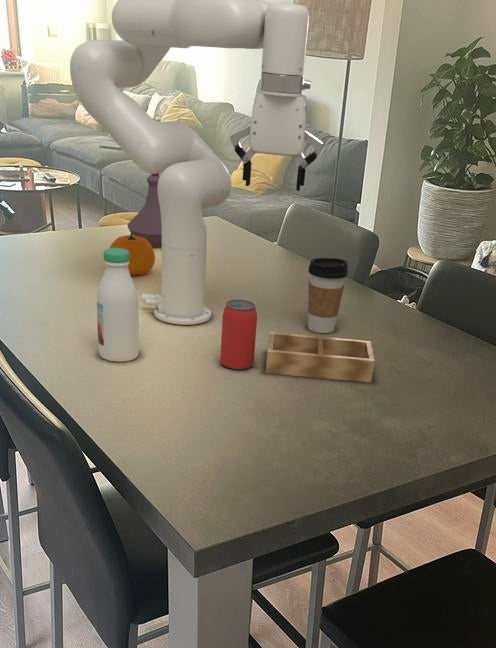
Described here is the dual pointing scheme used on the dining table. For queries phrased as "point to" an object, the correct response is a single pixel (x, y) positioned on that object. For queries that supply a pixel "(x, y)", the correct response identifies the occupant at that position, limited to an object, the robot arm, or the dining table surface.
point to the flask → (149, 216)
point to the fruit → (136, 253)
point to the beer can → (238, 334)
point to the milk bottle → (117, 309)
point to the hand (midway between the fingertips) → (272, 187)
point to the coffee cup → (325, 292)
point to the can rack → (320, 357)
